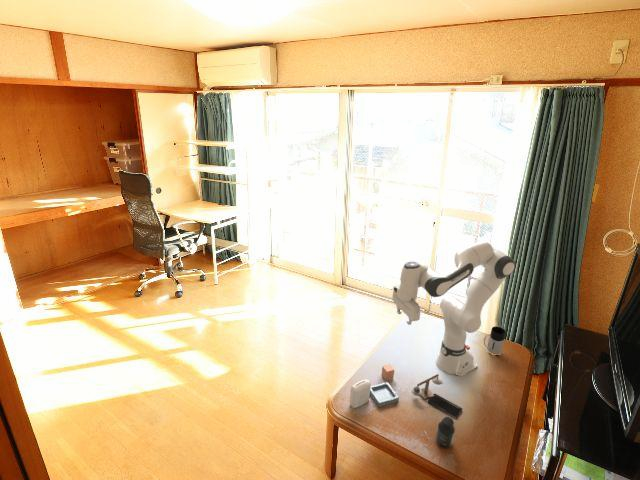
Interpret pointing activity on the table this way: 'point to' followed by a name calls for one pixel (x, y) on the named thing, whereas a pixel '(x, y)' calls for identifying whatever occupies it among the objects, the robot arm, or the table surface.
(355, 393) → the photo printer
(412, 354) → the table surface
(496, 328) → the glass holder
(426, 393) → the tipped balance
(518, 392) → the table surface
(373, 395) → the dish
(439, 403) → the phone
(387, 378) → the terracotta block
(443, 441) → the supplement bottle
